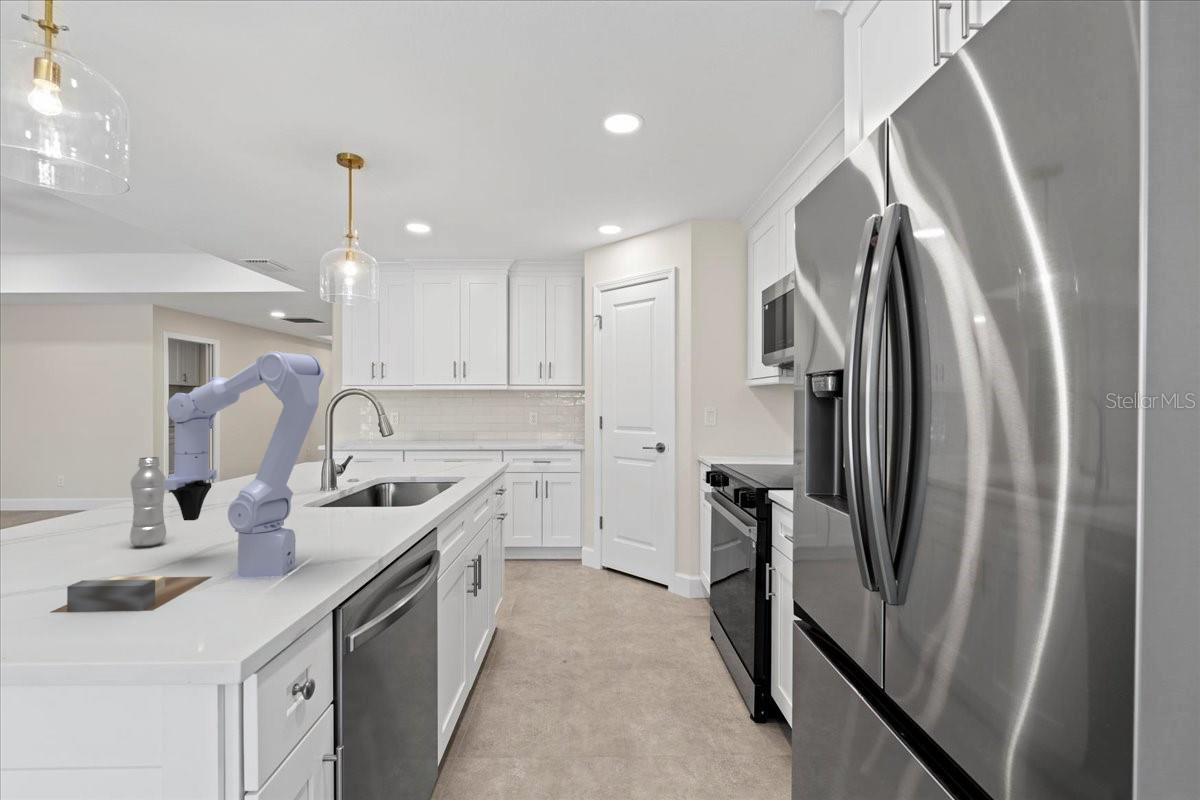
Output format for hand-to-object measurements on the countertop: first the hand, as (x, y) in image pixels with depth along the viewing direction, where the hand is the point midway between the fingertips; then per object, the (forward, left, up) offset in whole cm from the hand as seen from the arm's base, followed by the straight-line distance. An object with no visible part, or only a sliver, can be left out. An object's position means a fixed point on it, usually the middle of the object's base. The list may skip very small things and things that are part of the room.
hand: (191, 519), depth 117 cm
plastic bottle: (+18, -16, -10) cm, 26 cm away
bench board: (-2, +18, -9) cm, 20 cm away
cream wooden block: (-2, +21, -9) cm, 22 cm away
